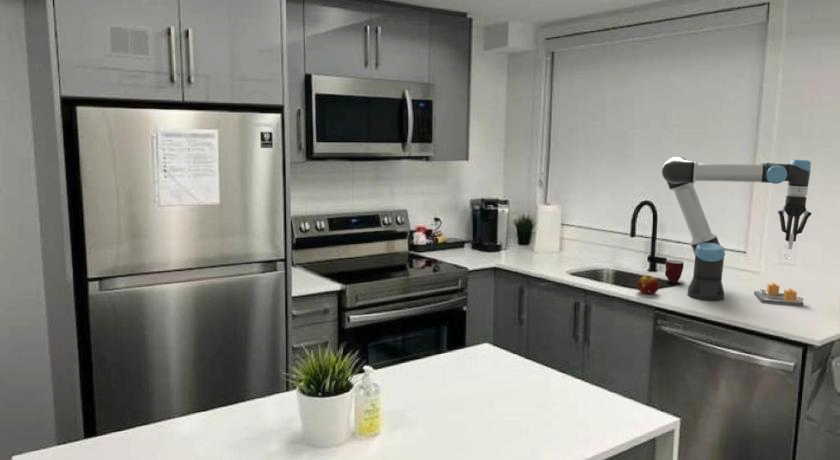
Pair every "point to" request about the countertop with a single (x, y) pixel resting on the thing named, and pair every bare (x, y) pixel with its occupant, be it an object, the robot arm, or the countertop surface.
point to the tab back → (773, 289)
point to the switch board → (776, 298)
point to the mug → (673, 270)
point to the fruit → (648, 284)
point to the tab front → (789, 295)
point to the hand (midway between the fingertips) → (789, 248)
